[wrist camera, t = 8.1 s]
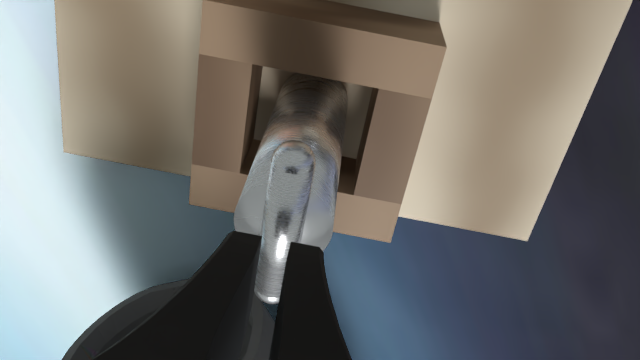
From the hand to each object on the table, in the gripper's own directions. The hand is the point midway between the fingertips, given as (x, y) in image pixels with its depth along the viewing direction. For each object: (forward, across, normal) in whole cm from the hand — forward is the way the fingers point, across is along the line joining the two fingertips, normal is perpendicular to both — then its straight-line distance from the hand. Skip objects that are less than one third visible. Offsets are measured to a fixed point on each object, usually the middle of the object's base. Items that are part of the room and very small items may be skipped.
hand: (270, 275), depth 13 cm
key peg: (+9, 0, 0) cm, 9 cm away
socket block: (+9, 0, 0) cm, 9 cm away
